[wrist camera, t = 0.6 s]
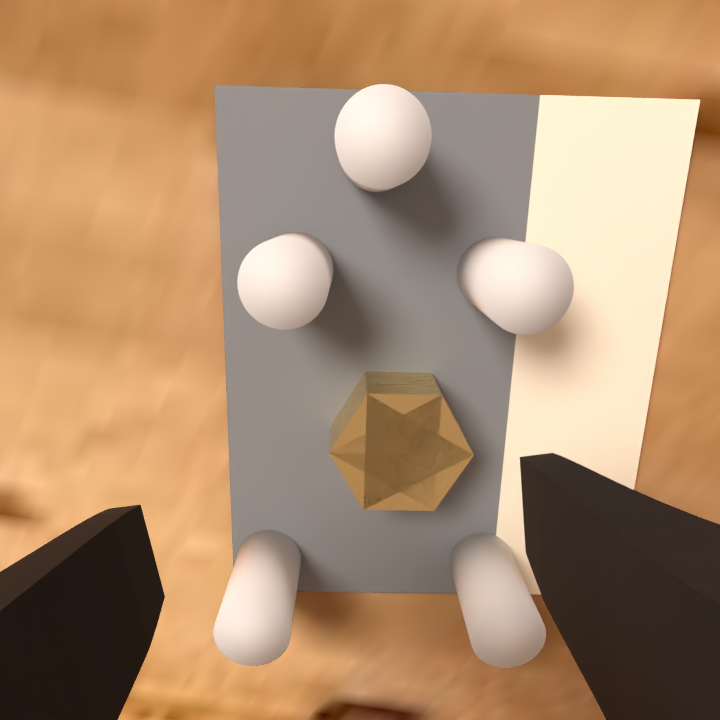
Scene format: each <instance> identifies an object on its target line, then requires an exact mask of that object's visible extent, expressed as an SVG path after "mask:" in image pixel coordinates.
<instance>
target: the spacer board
mask: <svg viewBox="0 0 720 720" xmlns="http://www.w3.org/2000/svg"><path fill="white" fill-rule="evenodd" d="M214 86H215V111H216V137H217V162H218V187H219V213H220V238H221V264H222V289H223V314H224V340H225V365H226V390H227V416H228V441H229V467H230V492H231V517H232V543H233V570H232V573H231V577H230V580H229V583H228V586H227V589H226V592H225V595H224V598H223V601H222V604H221V607H220V610H219V613H218V616H217V619H216V622H215V625H214V640H215V643H216V645H217V647H218V648H219V650H220V651H221V652H222V654H224V655H225V656H226V657H227V658H229V659H230V660H232V661H234V662H236V663H239V664H242V665H248V666H258V665H264V664H267V663H270V662H272V661H274V660H276V659H277V658H279V657H280V656H281V655H282V654H283V653H284V652H285V650H286V648H287V647H288V644H289V641H290V635H291V628H292V621H293V614H294V607H295V600H296V593H297V592H373V593H455V594H457V595H458V598H459V602H460V606H461V609H462V613H463V617H464V620H465V624H466V628H467V631H468V635H469V639H470V642H471V646H472V649H473V651H474V653H475V654H476V656H477V657H478V658H479V659H480V660H482V661H483V662H484V663H486V664H488V665H490V666H493V667H498V668H513V667H517V666H521V665H523V664H525V663H527V662H529V661H531V660H532V659H533V658H535V657H536V656H537V655H538V654H539V652H540V651H541V650H542V648H543V646H544V643H545V640H546V628H545V625H544V623H543V620H542V618H541V616H540V614H539V612H538V610H537V607H536V605H535V603H534V601H533V599H532V597H531V594H538V595H541V593H540V590H539V587H538V585H537V582H536V580H535V577H534V574H533V571H532V569H531V566H530V563H529V560H528V558H527V555H526V550H525V534H524V518H523V502H522V486H521V470H520V457H524V456H531V455H539V454H547V453H555V454H557V455H560V456H563V457H565V458H567V459H569V460H572V461H574V462H576V463H578V464H580V465H582V466H584V467H586V468H588V469H591V470H593V471H595V472H597V473H599V474H601V475H603V476H605V477H607V478H609V479H611V480H613V481H615V482H618V483H620V484H622V485H624V486H626V487H628V488H630V489H633V490H634V487H635V481H636V476H637V470H638V464H639V458H640V452H641V446H642V440H643V434H644V428H645V422H646V417H647V411H648V405H649V399H650V393H651V387H652V381H653V375H654V369H655V363H656V358H657V352H658V346H659V340H660V334H661V328H662V322H663V316H664V310H665V304H666V299H667V293H668V287H669V281H670V275H671V269H672V263H673V257H674V251H675V245H676V240H677V234H678V228H679V222H680V216H681V210H682V204H683V198H684V192H685V186H686V180H687V175H688V169H689V163H690V157H691V151H692V145H693V139H694V133H695V127H696V121H697V116H698V110H699V104H700V100H688V99H655V98H621V97H588V96H555V95H522V94H489V93H455V92H422V91H406V90H405V89H403V88H400V87H398V86H394V85H387V84H379V85H373V86H370V87H367V88H364V89H362V90H356V89H322V88H289V87H256V86H223V85H214ZM365 371H366V372H416V373H432V375H433V377H434V379H435V381H436V383H437V385H438V386H439V388H440V390H441V392H442V394H443V396H444V398H445V400H446V401H447V403H448V405H449V407H450V409H451V411H452V413H453V415H454V416H455V418H456V420H457V422H458V424H459V426H460V428H461V430H462V432H463V434H464V436H465V438H466V440H467V442H468V444H469V446H470V448H471V450H472V452H473V454H474V456H473V457H472V459H471V460H470V462H469V463H468V464H467V466H466V467H465V469H464V470H463V471H462V473H461V474H460V475H459V477H458V478H457V480H456V481H455V482H454V484H453V485H452V487H451V488H450V489H449V491H448V492H447V494H446V495H445V496H444V498H443V499H442V501H441V502H440V503H439V505H438V506H437V508H436V509H435V510H434V511H405V510H363V508H362V507H361V505H360V503H359V502H358V500H357V498H356V497H355V495H354V493H353V492H352V490H351V489H350V487H349V485H348V484H347V482H346V480H345V479H344V477H343V475H342V474H341V472H340V470H339V469H338V467H337V466H336V464H335V462H334V461H333V459H332V457H331V456H330V454H329V444H330V434H331V424H332V423H333V421H334V420H335V418H336V416H337V415H338V413H339V412H340V410H341V409H342V407H343V405H344V404H345V402H346V401H347V399H348V398H349V396H350V394H351V393H352V391H353V390H354V388H355V387H356V385H357V384H358V382H359V380H360V379H361V377H362V376H363V374H364V373H365Z"/></svg>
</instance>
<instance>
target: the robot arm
mask: <svg viewBox="0 0 720 720" xmlns="http://www.w3.org/2000/svg"><path fill="white" fill-rule="evenodd" d="M520 470H521V486H522V502H523V518H524V534H525V550H526V555H527V558H528V560H529V563H530V566H531V569H532V571H533V574H534V577H535V580H536V582H537V585H538V587H539V590H540V593H541V595H542V598H543V600H544V602H545V604H546V606H547V608H548V610H549V612H550V614H551V616H552V618H553V620H554V622H555V623H556V625H557V627H558V629H559V631H560V633H561V635H562V637H563V639H564V641H565V642H566V644H567V646H568V648H569V650H570V652H571V654H572V656H573V657H574V659H575V661H576V663H577V665H578V667H579V669H580V671H581V672H582V674H583V676H584V678H585V680H586V682H587V684H588V686H589V687H590V689H591V691H592V693H593V695H594V697H595V699H596V701H597V702H598V704H599V706H600V708H601V710H602V712H603V714H604V716H605V718H606V720H720V525H719V524H716V523H713V522H711V521H708V520H705V519H702V518H700V517H697V516H694V515H692V514H689V513H687V512H684V511H682V510H680V509H677V508H675V507H672V506H670V505H667V504H665V503H662V502H660V501H657V500H655V499H653V498H651V497H648V496H646V495H644V494H641V493H639V492H637V491H635V490H633V489H630V488H628V487H626V486H624V485H622V484H620V483H618V482H615V481H613V480H611V479H609V478H607V477H605V476H603V475H601V474H599V473H597V472H595V471H593V470H591V469H588V468H586V467H584V466H582V465H580V464H578V463H576V462H574V461H572V460H569V459H567V458H565V457H563V456H560V455H557V454H555V453H547V454H539V455H531V456H524V457H520ZM164 597H165V596H164V592H163V588H162V584H161V580H160V577H159V573H158V569H157V565H156V562H155V558H154V554H153V550H152V547H151V543H150V539H149V535H148V531H147V528H146V524H145V520H144V516H143V513H142V509H141V505H135V506H127V507H119V508H111V509H107V510H105V511H103V512H101V513H98V514H96V515H94V516H93V517H91V518H89V519H87V520H85V521H83V522H82V523H80V524H78V525H76V526H75V527H73V528H71V529H70V530H68V531H66V532H65V533H63V534H61V535H60V536H58V537H57V538H55V539H53V540H52V541H50V542H48V543H47V544H45V545H44V546H42V547H40V548H39V549H37V550H35V551H34V552H32V553H31V554H29V555H27V556H26V557H24V558H22V559H21V560H19V561H18V562H16V563H14V564H13V565H11V566H9V567H8V568H6V569H4V570H3V571H1V572H0V720H118V718H119V715H120V713H121V711H122V709H123V707H124V704H125V702H126V700H127V698H128V696H129V693H130V691H131V689H132V687H133V684H134V682H135V680H136V678H137V675H138V673H139V671H140V669H141V666H142V664H143V662H144V660H145V657H146V655H147V653H148V650H149V648H150V645H151V642H152V639H153V636H154V632H155V629H156V626H157V623H158V619H159V615H160V612H161V608H162V605H163V601H164Z"/></svg>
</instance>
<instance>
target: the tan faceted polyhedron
mask: <svg viewBox="0 0 720 720" xmlns="http://www.w3.org/2000/svg"><path fill="white" fill-rule="evenodd" d="M329 454H330V456H331V457H332V459H333V461H334V462H335V464H336V466H337V467H338V469H339V470H340V472H341V474H342V475H343V477H344V479H345V480H346V482H347V484H348V485H349V487H350V489H351V490H352V492H353V493H354V495H355V497H356V498H357V500H358V502H359V503H360V505H361V507H362V508H363V510H405V511H434V510H435V509H436V508H437V506H438V505H439V503H440V502H441V501H442V499H443V498H444V496H445V495H446V494H447V492H448V491H449V489H450V488H451V487H452V485H453V484H454V482H455V481H456V480H457V478H458V477H459V475H460V474H461V473H462V471H463V470H464V469H465V467H466V466H467V464H468V463H469V462H470V460H471V459H472V457H473V456H474V454H473V452H472V450H471V448H470V446H469V444H468V442H467V440H466V438H465V436H464V434H463V432H462V430H461V428H460V426H459V424H458V422H457V420H456V418H455V416H454V415H453V413H452V411H451V409H450V407H449V405H448V403H447V401H446V400H445V398H444V396H443V394H442V392H441V390H440V388H439V386H438V385H437V383H436V381H435V379H434V377H433V375H432V373H416V372H366V371H365V373H364V374H363V376H362V377H361V379H360V380H359V382H358V384H357V385H356V387H355V388H354V390H353V391H352V393H351V394H350V396H349V398H348V399H347V401H346V402H345V404H344V405H343V407H342V409H341V410H340V412H339V413H338V415H337V416H336V418H335V420H334V421H333V423H332V424H331V434H330V444H329Z"/></svg>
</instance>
